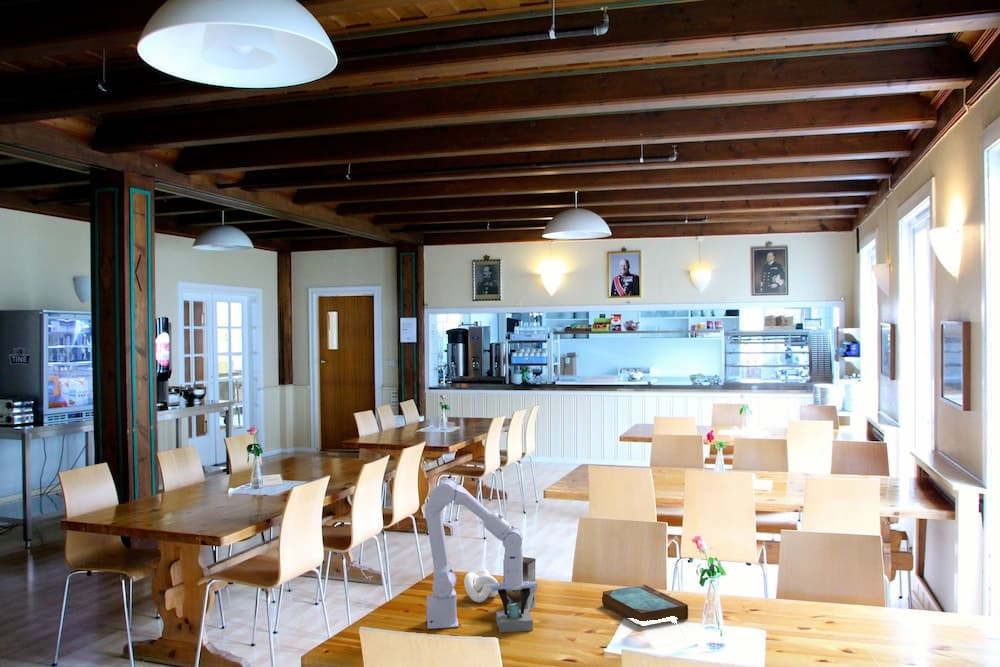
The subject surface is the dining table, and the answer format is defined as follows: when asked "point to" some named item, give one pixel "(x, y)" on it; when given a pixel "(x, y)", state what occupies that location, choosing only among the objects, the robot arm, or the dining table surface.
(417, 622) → the dining table surface
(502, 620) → the socket board
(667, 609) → the book
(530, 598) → the coffee box
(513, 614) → the peg
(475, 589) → the white knot sculpture
